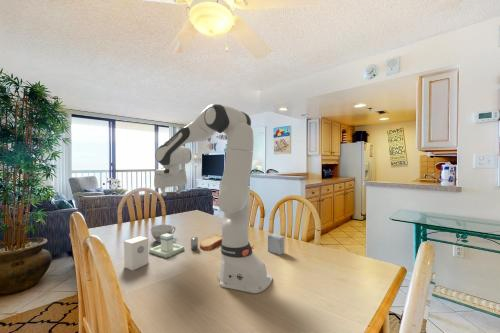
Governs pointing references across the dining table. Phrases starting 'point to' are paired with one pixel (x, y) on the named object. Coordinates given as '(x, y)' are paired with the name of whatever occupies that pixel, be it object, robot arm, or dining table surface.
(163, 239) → the teal band cartridge
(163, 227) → the teacup
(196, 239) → the cylinder
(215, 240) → the bread slice
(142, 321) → the dining table surface
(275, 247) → the medicine box
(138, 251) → the cream tall block
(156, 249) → the tray
